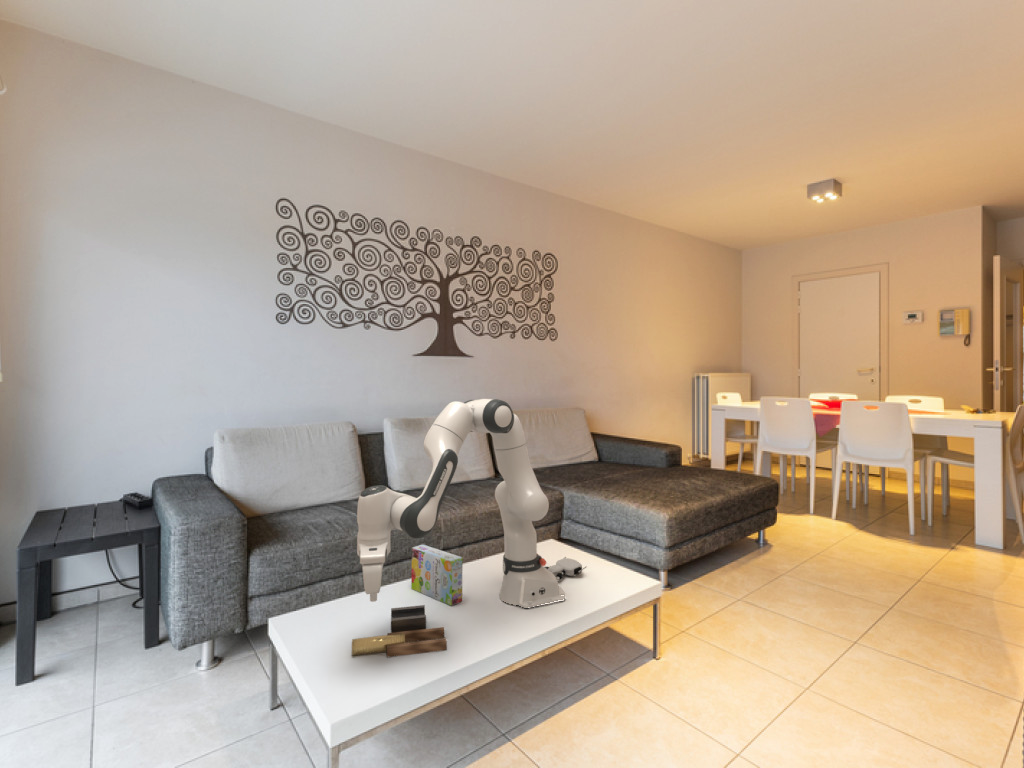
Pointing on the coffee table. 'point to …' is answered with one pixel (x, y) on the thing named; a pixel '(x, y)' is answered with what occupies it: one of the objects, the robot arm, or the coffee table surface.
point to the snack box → (437, 574)
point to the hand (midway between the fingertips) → (374, 596)
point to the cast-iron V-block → (408, 618)
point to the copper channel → (421, 645)
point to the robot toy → (565, 568)
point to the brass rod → (375, 643)
